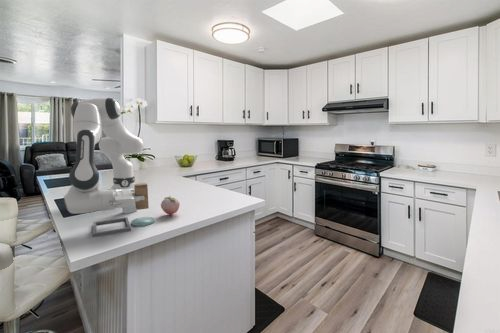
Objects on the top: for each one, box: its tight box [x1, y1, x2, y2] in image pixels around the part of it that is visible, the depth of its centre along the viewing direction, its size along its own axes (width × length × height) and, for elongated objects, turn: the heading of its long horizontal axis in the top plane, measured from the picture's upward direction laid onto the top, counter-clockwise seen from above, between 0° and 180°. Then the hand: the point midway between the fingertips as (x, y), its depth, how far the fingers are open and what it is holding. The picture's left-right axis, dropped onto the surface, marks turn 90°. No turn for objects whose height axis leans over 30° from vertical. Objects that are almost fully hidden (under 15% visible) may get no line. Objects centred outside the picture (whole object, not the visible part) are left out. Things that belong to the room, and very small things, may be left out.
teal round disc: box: [130, 216, 156, 227], centre depth 123 cm, size 10×10×1 cm
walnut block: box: [134, 182, 150, 211], centre depth 121 cm, size 5×5×11 cm
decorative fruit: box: [160, 196, 181, 216], centre depth 133 cm, size 9×8×10 cm
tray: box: [92, 216, 132, 238], centre depth 116 cm, size 16×14×1 cm
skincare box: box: [121, 188, 138, 214], centre depth 138 cm, size 6×4×12 cm
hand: (143, 195), depth 121 cm, fingers closed on walnut block, 5 cm apart
